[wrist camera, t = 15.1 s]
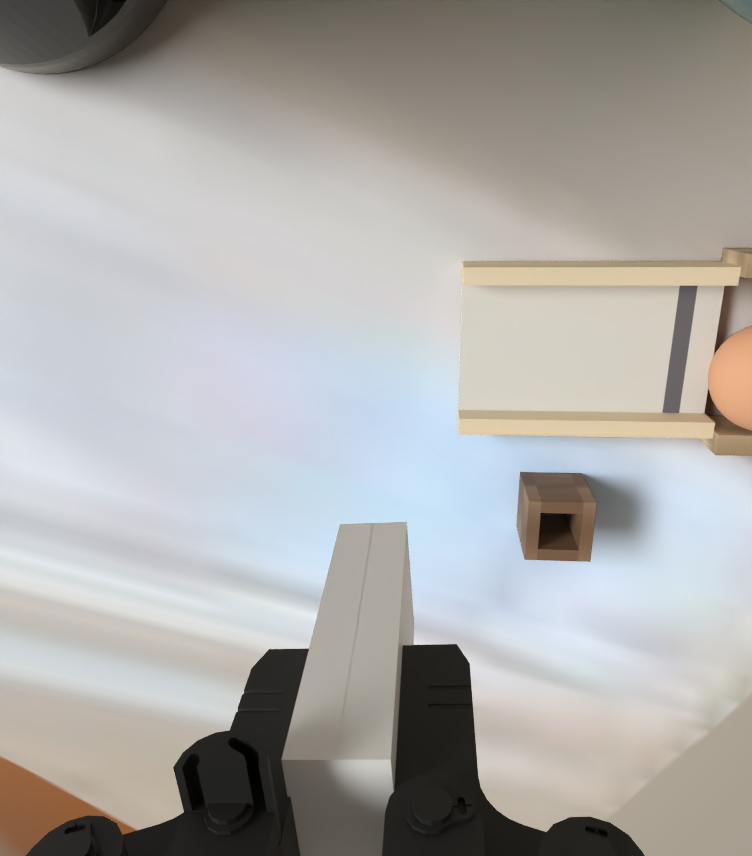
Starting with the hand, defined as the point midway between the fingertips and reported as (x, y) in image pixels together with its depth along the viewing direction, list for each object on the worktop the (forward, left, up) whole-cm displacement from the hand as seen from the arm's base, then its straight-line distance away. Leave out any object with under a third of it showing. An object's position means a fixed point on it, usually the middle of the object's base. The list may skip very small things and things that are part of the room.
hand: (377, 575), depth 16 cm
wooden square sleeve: (+8, +8, -20) cm, 23 cm away
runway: (-1, +9, -20) cm, 22 cm away
